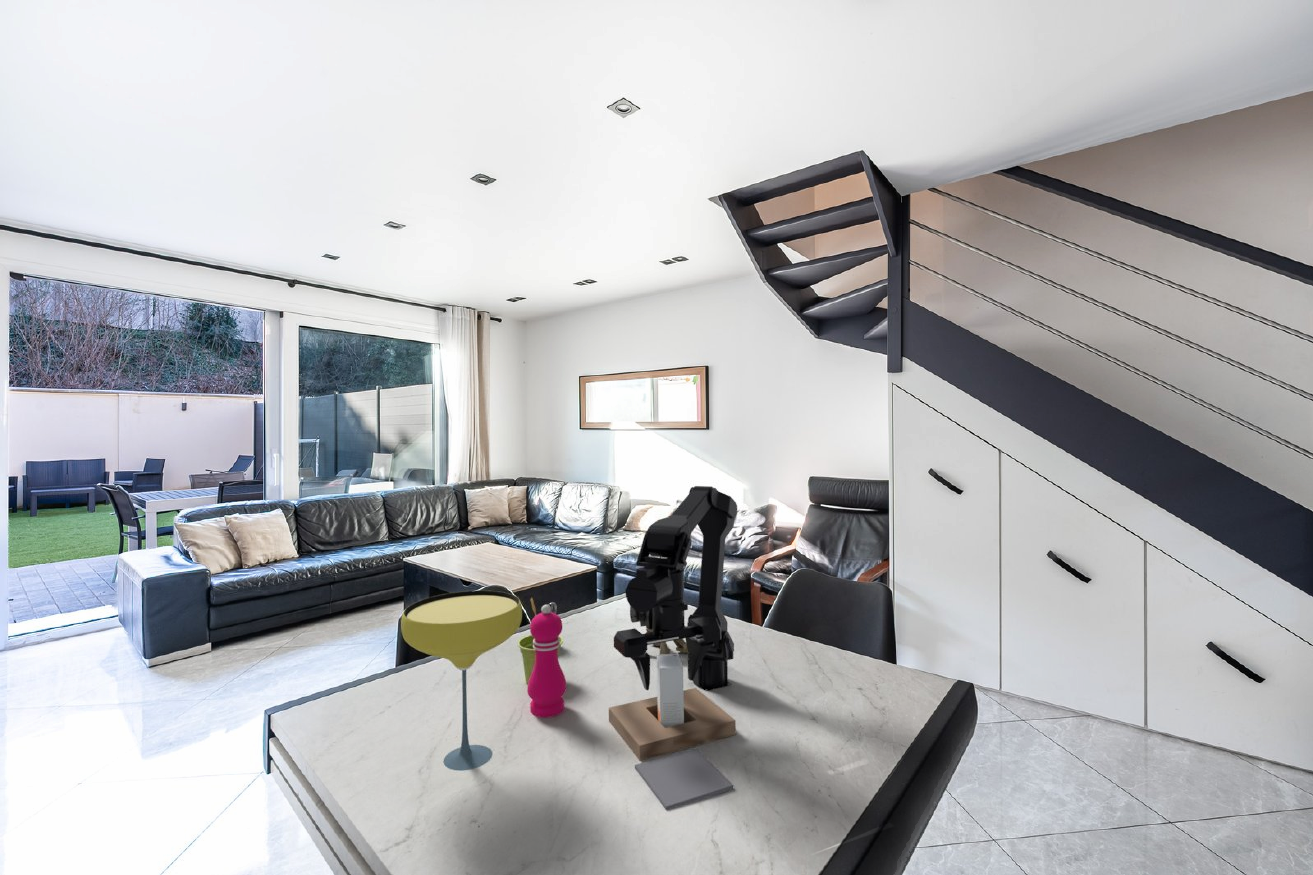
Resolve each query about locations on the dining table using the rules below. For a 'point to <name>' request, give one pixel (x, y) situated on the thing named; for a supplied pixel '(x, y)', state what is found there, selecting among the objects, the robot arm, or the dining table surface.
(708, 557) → the robot arm
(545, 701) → the pepper mill
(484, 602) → the cocktail glass
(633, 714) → the holder block
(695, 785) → the coaster
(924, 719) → the dining table surface
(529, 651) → the plant pot
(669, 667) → the skincare box
